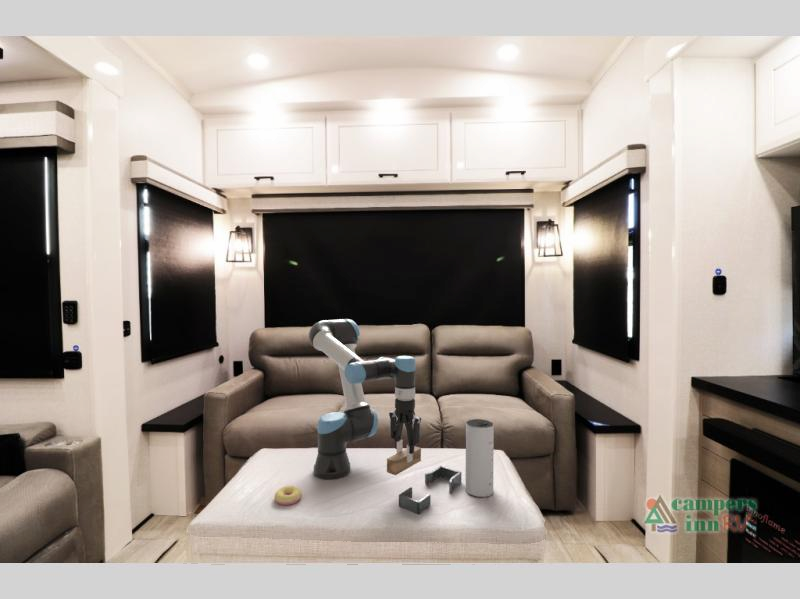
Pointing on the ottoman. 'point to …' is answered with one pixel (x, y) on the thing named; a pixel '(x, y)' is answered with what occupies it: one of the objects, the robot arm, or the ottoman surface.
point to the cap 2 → (446, 473)
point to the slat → (402, 461)
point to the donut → (288, 495)
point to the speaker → (479, 457)
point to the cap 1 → (413, 502)
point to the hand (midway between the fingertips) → (404, 459)
